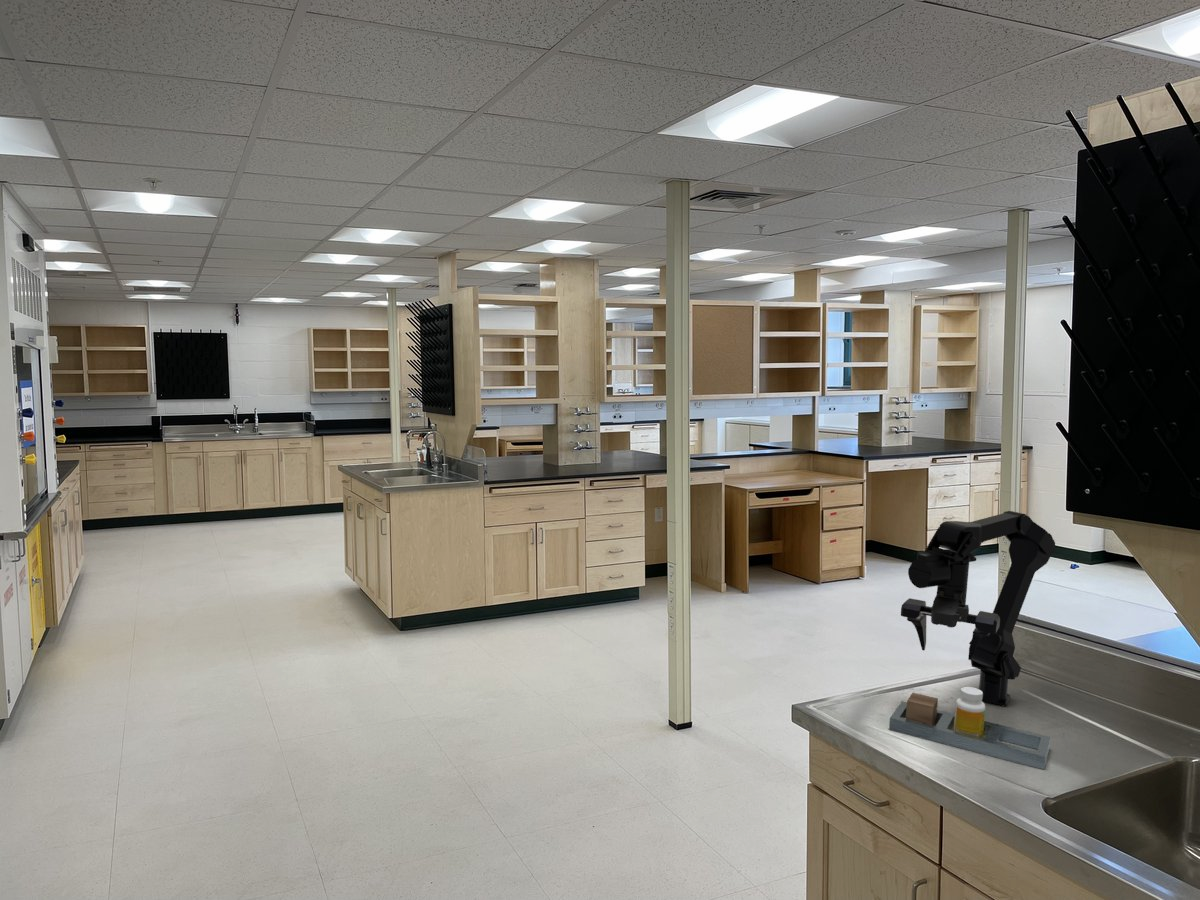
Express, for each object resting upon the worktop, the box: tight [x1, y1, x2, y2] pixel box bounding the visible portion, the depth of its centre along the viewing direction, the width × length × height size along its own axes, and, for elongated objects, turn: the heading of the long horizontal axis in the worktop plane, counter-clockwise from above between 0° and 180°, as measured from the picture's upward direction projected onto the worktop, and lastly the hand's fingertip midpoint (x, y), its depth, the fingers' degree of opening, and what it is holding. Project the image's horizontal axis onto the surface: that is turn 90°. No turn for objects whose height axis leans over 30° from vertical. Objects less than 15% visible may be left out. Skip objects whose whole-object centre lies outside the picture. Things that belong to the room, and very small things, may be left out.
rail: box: [888, 700, 1052, 770], centre depth 170 cm, size 10×28×2 cm, turn 58°
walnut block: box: [906, 692, 939, 726], centre depth 175 cm, size 5×5×6 cm
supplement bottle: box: [953, 686, 986, 738], centre depth 170 cm, size 5×5×10 cm
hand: (946, 654), depth 182 cm, fingers open, 9 cm apart
